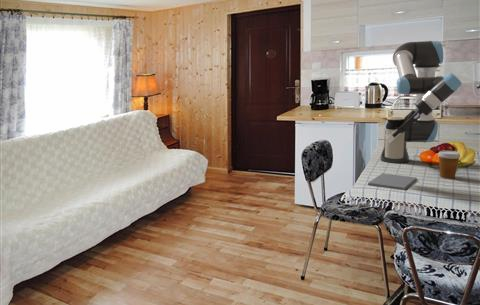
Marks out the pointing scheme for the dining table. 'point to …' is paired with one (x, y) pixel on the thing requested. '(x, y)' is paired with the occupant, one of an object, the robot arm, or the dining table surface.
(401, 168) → the dining table surface
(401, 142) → the travel mug
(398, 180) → the placemat
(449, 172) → the disposable coffee cup
